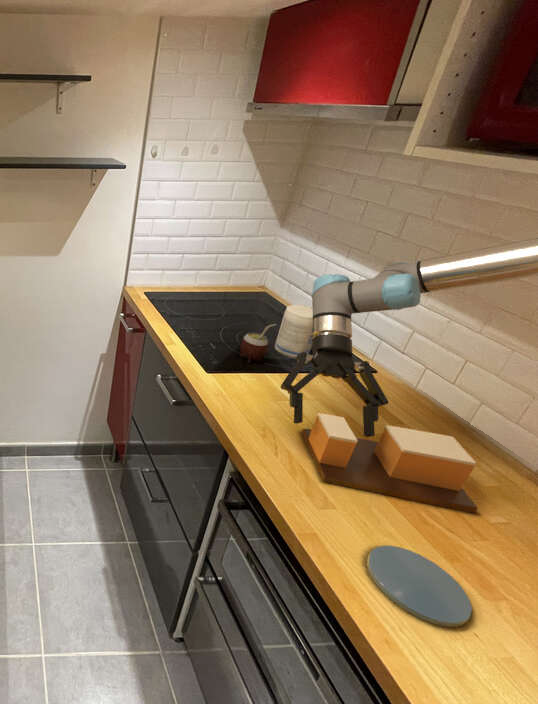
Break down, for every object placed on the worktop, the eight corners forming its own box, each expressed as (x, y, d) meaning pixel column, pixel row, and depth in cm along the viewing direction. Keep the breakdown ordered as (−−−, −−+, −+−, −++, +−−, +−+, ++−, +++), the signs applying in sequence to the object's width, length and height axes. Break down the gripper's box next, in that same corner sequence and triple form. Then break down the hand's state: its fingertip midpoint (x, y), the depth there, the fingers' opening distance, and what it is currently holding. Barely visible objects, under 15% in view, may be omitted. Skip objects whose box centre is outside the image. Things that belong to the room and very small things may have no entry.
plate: (462, 578, 75) (465, 574, 74) (475, 646, 65) (478, 642, 65) (367, 536, 82) (369, 532, 82) (366, 591, 73) (368, 588, 72)
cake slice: (332, 443, 102) (343, 417, 99) (345, 468, 95) (357, 440, 92) (308, 438, 104) (318, 412, 101) (319, 462, 97) (330, 435, 94)
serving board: (430, 457, 101) (433, 452, 100) (475, 513, 87) (478, 508, 86) (301, 432, 108) (303, 427, 107) (323, 481, 94) (325, 476, 93)
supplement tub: (310, 362, 137) (325, 320, 131) (275, 356, 141) (288, 314, 135) (305, 348, 145) (318, 307, 139) (272, 342, 149) (284, 302, 143)
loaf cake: (438, 463, 97) (452, 436, 94) (459, 491, 90) (476, 463, 87) (373, 451, 100) (385, 424, 97) (389, 477, 93) (403, 449, 90)
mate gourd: (241, 350, 143) (252, 308, 137) (268, 359, 139) (281, 315, 133) (235, 360, 138) (246, 316, 132) (263, 369, 134) (276, 324, 127)
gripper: (385, 351, 105) (390, 443, 98) (267, 334, 111) (264, 419, 105) (404, 342, 98) (411, 440, 91) (278, 324, 105) (275, 415, 98)
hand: (332, 429), depth 98 cm, fingers open, 13 cm apart
